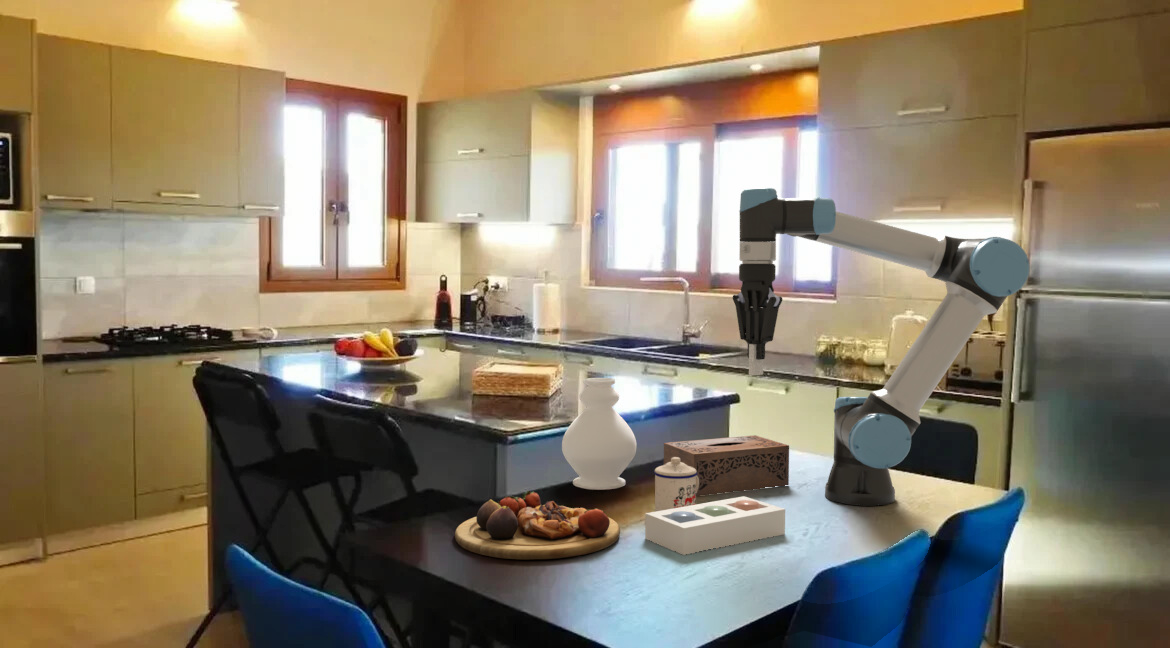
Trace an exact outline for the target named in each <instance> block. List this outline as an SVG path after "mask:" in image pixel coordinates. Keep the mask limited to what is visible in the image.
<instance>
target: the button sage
mask: <svg viewBox="0 0 1170 648" xmlns="http://www.w3.org/2000/svg"><path fill="white" fill-rule="evenodd" d="M704 514H707V515H710V516H713V517H716V516H722V515H727V514H728V508H726V507H723V506H707V507H704Z"/></svg>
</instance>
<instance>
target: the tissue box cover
mask: <svg viewBox="0 0 1170 648" xmlns="http://www.w3.org/2000/svg"><path fill="white" fill-rule="evenodd" d="M673 457H678V458H680V462H682V463H685V464H686V465H687V466H690V467H693V468H695V469H696V471H697V476H698V478H699V487H698V490H697V493H696V497H701V496H700V495H705V496H710V495H709V494H714V495H718V494H717V493H723V494H726V493H725V492H732V493H734V492H733V491H741V492H745V491H744V490H750V491H754V490H753V489H759V490H761V489H760V488H765V487H775V486H785V485H790V483H789V481H790V479H789V477H790V474H789V473H790V472H789V471H790V445H789V444H785V443H782V442H779V441H775V440H772V439H769V438H766V437H762V436H759V435H744V436H742V435H741V436H732V437H731V436H730V437H720V438H708V439H707V438H706V439H696V440H695V439H694V440H683V441H671V442H670V441H669V442H663V465H665V464H666V463H668V462H671V458H673Z"/></svg>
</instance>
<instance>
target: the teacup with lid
mask: <svg viewBox="0 0 1170 648" xmlns="http://www.w3.org/2000/svg"><path fill="white" fill-rule="evenodd" d="M653 475H655V476H654V493H655V494H654V512H656V511H662V510H668V509H673V508H679V507H685V506H691V505H696V504H697V503H696V501H697V500H696V499H697V496H696V493H697V490H698V487H699V478H698V476H697V471H696V469H695V468H693V467H690V466H687V465H686V464H685V463H682V462H680V458H678V457H673V458H671V462H668V463H666V464H665V465H664V464H663V465H659V466H657V467H656V468H655V469H654V472H653Z"/></svg>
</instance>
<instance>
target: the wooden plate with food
mask: <svg viewBox="0 0 1170 648" xmlns="http://www.w3.org/2000/svg"><path fill="white" fill-rule="evenodd" d="M521 497H522V498H521ZM521 497H519V496H515V495H512V496H504V497H503V498H502V499H500V500H499V502H496V501H494V500H493V499H492V498H491V499H489V500H488V501H486V502H484V503H483V504H482V505H481V506H480V508H479V509H478V511H477V513H476V516H474V517H472V518H469V519H467V520H465V521H463V522H462V523H460V524H459V525H458V526H457V527H456V529H455V532H454V539H455V541H456V543H457V544H458V545H459V546H460V547H461V548H462V549H464V550H465V551H468V552H471V553H475V554H477V555H478V554H479V555H483V556H486V557H492V558H499V559H507V560H552V559H562V558H564V559H566V558H572V557H576V556H578V557H579V556H582V555H587V554H592V553H595V552H598V551H600V550H601V551H602V550H604V549H606V548H608V547H609V546H612V545H614V544H615V543H616V542H617V541H618V539H619V537H620V534H621V528H620V526H619V524H618V523H617V522H616V521H615V520H614V519H612V518H611V517H609V516H607V515H606V513H605V511H604V510H603V509H599V508H594V507H593V509H589V508H588V509H586V508H584V507H580V508H579V507H574V508H573V507H572V508H571V507H567V506H564V505H558V504H557V503H556V502H555V500H550V501H548V500H547V501H546V502H545V504H543V505H542V504H541V503H542V502H541V498H540V496H539V494H538V493H537V492H535V491H534V490H533V491H531V490H527V491H525V492H524V493H522V494H521Z"/></svg>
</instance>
